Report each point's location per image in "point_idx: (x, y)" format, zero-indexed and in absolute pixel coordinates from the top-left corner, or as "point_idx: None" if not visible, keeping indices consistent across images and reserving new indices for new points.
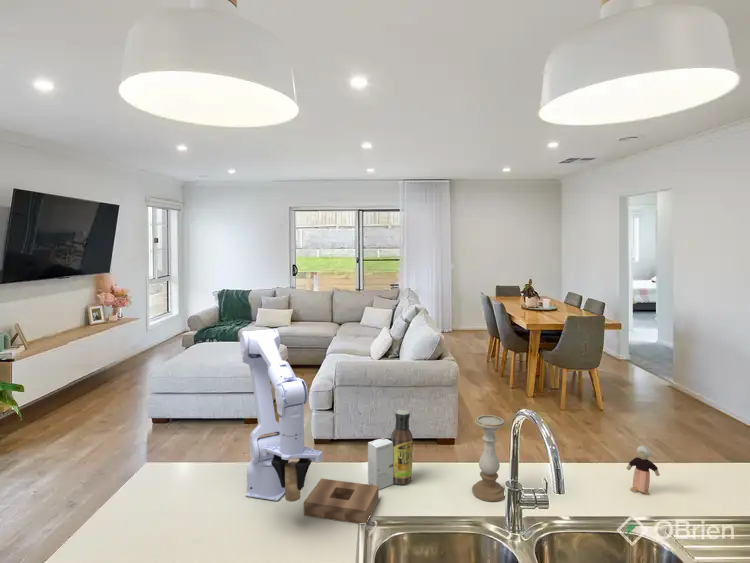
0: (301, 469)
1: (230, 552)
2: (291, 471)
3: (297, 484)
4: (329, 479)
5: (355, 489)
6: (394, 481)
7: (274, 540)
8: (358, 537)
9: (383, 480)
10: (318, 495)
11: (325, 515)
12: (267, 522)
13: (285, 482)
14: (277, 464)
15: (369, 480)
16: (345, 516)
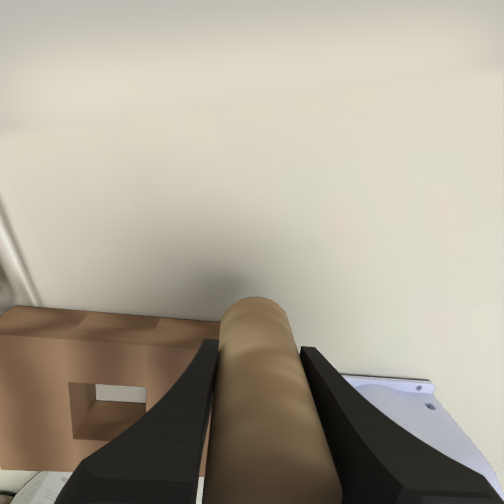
0: (130, 449)
1: (412, 104)
2: (258, 428)
3: (215, 355)
4: None
5: (72, 441)
6: (6, 502)
7: (283, 188)
8: (13, 240)
9: (21, 499)
10: None
11: (154, 322)
12: (332, 274)
13: (297, 363)
14: (425, 482)
15: None
16: (79, 320)
